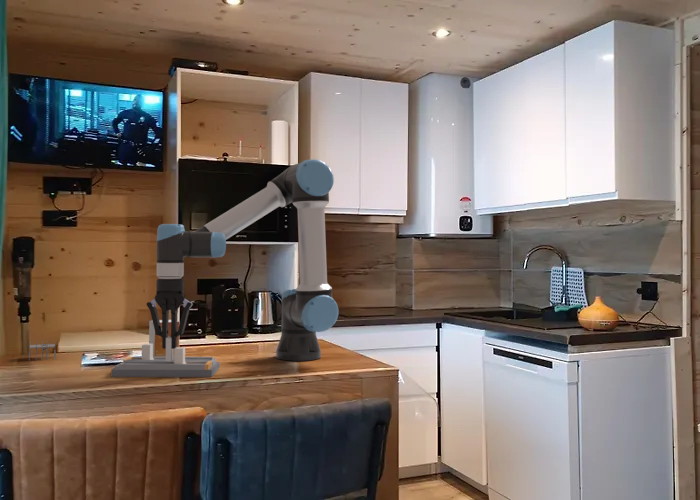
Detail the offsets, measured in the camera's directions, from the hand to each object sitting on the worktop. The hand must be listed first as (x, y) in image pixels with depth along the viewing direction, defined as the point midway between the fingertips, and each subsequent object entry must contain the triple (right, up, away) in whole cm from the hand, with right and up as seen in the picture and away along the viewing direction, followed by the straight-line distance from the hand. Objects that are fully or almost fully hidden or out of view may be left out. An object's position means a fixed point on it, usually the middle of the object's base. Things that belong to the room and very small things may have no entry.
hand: (169, 359), depth 178 cm
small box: (-8, -5, +22) cm, 24 cm away
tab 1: (-9, -2, +7) cm, 11 cm away
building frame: (-48, -4, +24) cm, 54 cm away
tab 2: (+3, -2, 0) cm, 3 cm away
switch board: (-2, -4, +3) cm, 6 cm away
